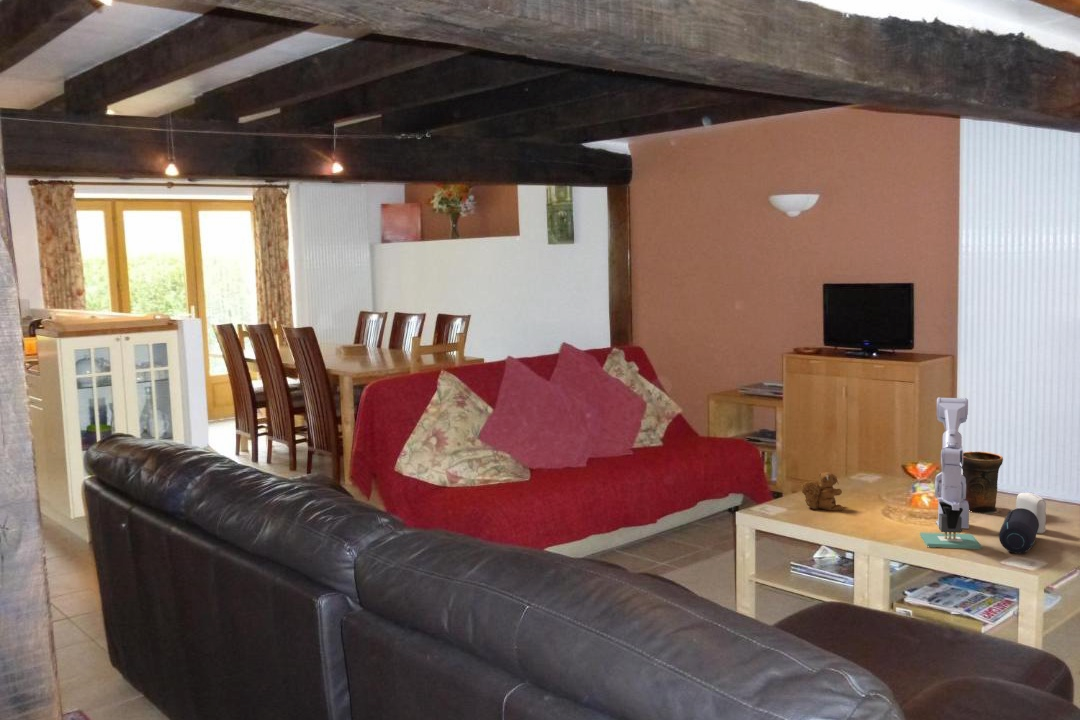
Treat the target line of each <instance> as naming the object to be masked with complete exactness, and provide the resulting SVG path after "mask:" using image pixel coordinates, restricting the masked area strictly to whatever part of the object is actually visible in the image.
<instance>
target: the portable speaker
mask: <svg viewBox="0 0 1080 720" xmlns="http://www.w3.org/2000/svg"><path fill="white" fill-rule="evenodd" d="M1038 528H1039V521H1038V519H1037V517H1036V515H1035V514H1034V513H1033V512H1031V511H1030V510H1027V509H1023V508H1017V509H1016V508H1014V509H1011V510H1010V511H1009V512H1008V513H1007V514H1006V516H1005V518H1004V520H1003V523H1002V525H1001V527H1000V530H999V533H998V540H999V542H1000V545H1001V546H1002V547H1003V548H1004V549H1005V550H1007V551H1009V552H1011V553H1013V554H1024V553H1026V552H1028V551H1030V550H1031V549H1032V548H1033V546H1034V543H1035V540H1036V537H1037V534H1038V533H1037V531H1038Z"/></svg>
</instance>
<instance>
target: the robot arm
mask: <svg viewBox="0 0 1080 720" xmlns="http://www.w3.org/2000/svg"><path fill="white" fill-rule="evenodd" d="M968 415H969V399H968V398H967V397H963V398H962V397H961V398H959V397H939V396H938V397H937V398H936V419H937V421H938V422H939V423H942V424H943V427H944V432H943V434H942V446H941V447H942V449H941V450H940V464H941V465H940V466H941V472H939V473H937V474H936V475H935V479H934V480H935V481H934V497H935V499H937V501H938V504H937V505H938V506H937V507H938V512H937V513H938V514H937V515H938V516H937V520H938V521H936V522H935V524H936V523H937V524H936V525H937V526H938V527H939V514H946V517H947V524H948V528H949V529H956V526H957V522H958V518H959V516H961V517H962V527H961V529H966V530H967V529H970V527H969V526H970V524H969V523H970V522H969V521H970V511H969V504H968V501H966V500H964V499H966V479H965V477H964V476H963V473H962V468H961V467H962V466H963V453H964V450H963V445H962V443H963V440H962V439H963V437H962V433H961V432H960V431H959V429H960V428H959V427H960V426H961V424H963V423H966V422H967V420H968ZM960 462H961V463H962V464H961V463H960Z"/></svg>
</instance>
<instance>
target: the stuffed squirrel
mask: <svg viewBox="0 0 1080 720" xmlns="http://www.w3.org/2000/svg"><path fill="white" fill-rule="evenodd" d="M818 475H819V476H820V484H819V483H818V482H816V481H815V480H812V481H805V482H803V484H801V485H800V486H801V487H802V488H801V492H802V494H803V495H804V498H805V503H806V505H807V506H808V507H809V508H810V509H812V510H817V509H822V510H826V511H832V512H833V511H834V512H835V511H843V509H844V507H843V506H842V505H841V504H837V503H836V502H837V501H836V497H837V496H840V495H841V494H842V492H843V491H842V489H841V488H834V487H833V486H835V485H836V484H837V485H838V486H839V484H840V482H839V481H838V478H837V476H836V475H835V474H834V473H832V472H829V471H826V472H821V471H820V472H819V474H818Z"/></svg>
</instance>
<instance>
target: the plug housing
mask: <svg viewBox="0 0 1080 720" xmlns="http://www.w3.org/2000/svg"><path fill="white" fill-rule="evenodd" d="M961 527H962V517H961V516H959V518H958V522H957V526H956V529H949V528H948V524H947V517H946V514H939V526H938V529H939V531H940V533H945V532H947V533H949V532H951V533H952V534H953V533H956V534H962V528H961Z"/></svg>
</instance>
